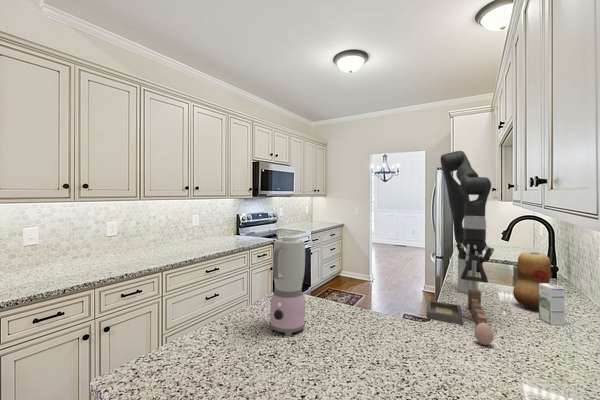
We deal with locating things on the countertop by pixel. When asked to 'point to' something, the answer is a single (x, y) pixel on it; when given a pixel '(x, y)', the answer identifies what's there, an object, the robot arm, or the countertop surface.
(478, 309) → the door-edge rail
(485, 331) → the egg
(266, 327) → the countertop surface
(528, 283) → the butternut squash
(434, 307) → the silver shallow tray
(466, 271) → the phone stand
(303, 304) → the blender
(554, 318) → the syrup box
